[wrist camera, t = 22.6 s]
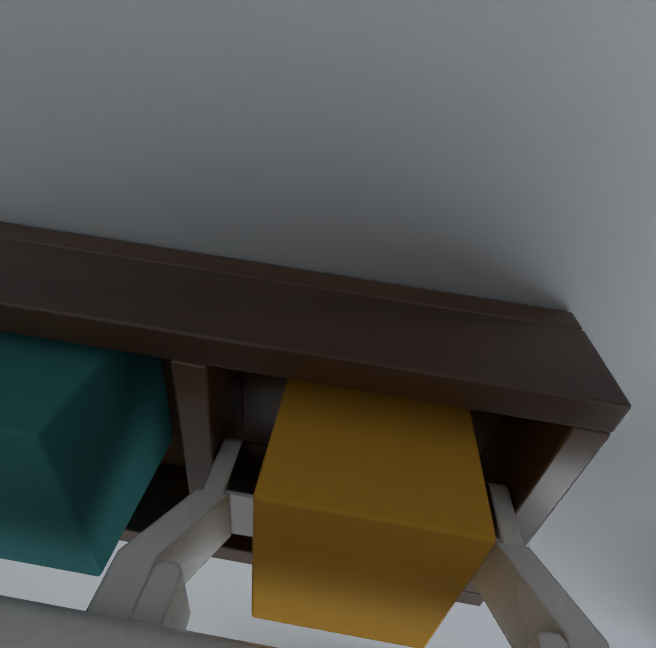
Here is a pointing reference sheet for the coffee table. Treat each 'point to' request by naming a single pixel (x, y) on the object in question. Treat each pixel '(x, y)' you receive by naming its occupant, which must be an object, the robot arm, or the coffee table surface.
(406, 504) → the yellow block
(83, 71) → the coffee table surface
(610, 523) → the coffee table surface
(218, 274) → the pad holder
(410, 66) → the coffee table surface
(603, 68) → the coffee table surface
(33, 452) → the teal block
